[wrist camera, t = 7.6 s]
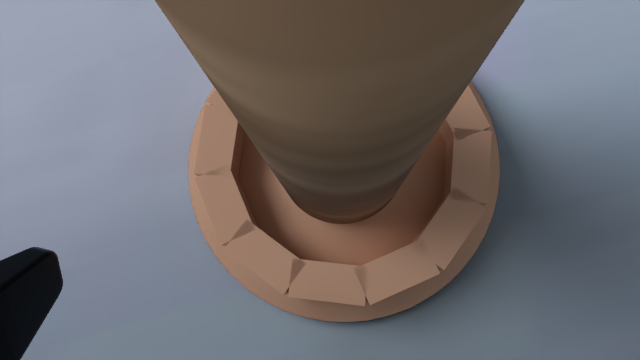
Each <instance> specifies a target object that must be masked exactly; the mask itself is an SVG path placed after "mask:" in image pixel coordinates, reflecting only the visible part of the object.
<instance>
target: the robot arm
mask: <svg viewBox="0 0 640 360" xmlns="http://www.w3.org/2000/svg"><path fill="white" fill-rule="evenodd" d="M62 286H63V279H62V274H61V270H60V265H59V261H58V257H57V255H56V253H55V252H53V251H51V250H47V249H43V248H39V247H32V248H29V249H26V250H24V251H21V252H19V253H17V254H15V255H12V256H10V257H8V258H5V259H3V260H1V261H0V360H20V359H21V358H22V356H23V354H24V353H25V351H26V349H27V348H28V346H29V344H30V343H31V341H32V339H33V338H34V336H35V334H36V333H37V331H38V329H39V328H40V326H41V324H42V323H43V321H44V319H45V318H46V316H47V314H48V313H49V311H50V309H51V308H52V306H53V304H54V303H55V301H56V299H57V298H58V296H59V294H60V292H61V290H62Z"/></svg>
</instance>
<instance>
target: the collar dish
mask: <svg viewBox="0 0 640 360" xmlns="http://www.w3.org/2000/svg"><path fill="white" fill-rule="evenodd" d="M499 181H500V156H499V150H498V144H497V137H496V134H495V130H494V127H493V124H492V121H491V117H490V115H489V113H488V111H487V109H486V106H485V104H484V102H483V100H482V98H481V96H480V95H479V93H478V92H477V90H476V89H475V87H474V85H473V84H472V82H471V81H470V83H469V84H468V86H467V87H466V89H465V90H464V92H463V93H462V95H461V96H460V98H459V99H458V101H457V102H456V104H455V105H454V107H453V108H452V110H451V111H450V113H449V114H448V116H447V117H446V119H445V120H444V122H443V123H442V125H441V126H440V128H439V129H438V131H437V132H436V134H435V135H434V137H433V138H432V140H431V141H430V143H429V144H428V146H427V147H426V149H425V150H424V152H423V153H422V155H421V156H420V158H419V159H418V161H417V162H416V164H415V165H414V167H413V168H412V170H411V171H410V173H409V174H408V176H407V177H406V179H405V180H404V182H403V183H402V185H401V186H400V188H399V189H398V191H397V192H396V194H395V195H394V197H393V198H392V200H391V201H390V202H389V203H388V204H387V205H386V206H385V207H384V208H383V209H382V210H381V211H379V212H378V213H377V214H375V215H373V216H371V217H370V218H368V219H365V220H362V221H359V222H355V223H350V224H333V223H328V222H324V221H321V220H318V219H316V218H314V217H312V216H310V215H308V214H307V213H305V212H304V211H302V210H301V209H300V208H299V207H298V206H297V205H296V204H295V203H294V202H293V201H292V199H291V198H290V196H289V195H288V194H287V192H286V191H285V189H284V188H283V186H282V185H281V183H280V182H279V180H278V179H277V177H276V176H275V175H274V173H273V172H272V170H271V169H270V167H269V166H268V164H267V163H266V161H265V160H264V159H263V157H262V156H261V154H260V153H259V151H258V150H257V148H256V147H255V145H254V144H253V143H252V141H251V140H250V138H249V137H248V135H247V134H246V132H245V131H244V129H243V128H242V126H241V125H240V124H239V122H238V121H237V119H236V118H235V116H234V115H233V113H232V112H231V110H230V109H229V108H228V106H227V105H226V103H225V102H224V100H223V99H222V97H221V96H220V94H219V93H218V92H217V90H216V89H215V87H214V88H213V89H212V91H211V92H210V94H209V96H208V98H207V100H206V102H205V104H204V106H203V107H202V109H201V112H200V115H199V117H198V120H197V123H196V125H195V129H194V133H193V137H192V141H191V146H190V155H189V187H190V193H191V199H192V205H193V208H194V211H195V215H196V218H197V221H198V224H199V226H200V228H201V231H202V233H203V235H204V237H205V239H206V241H207V243H208V245H209V246H210V248H211V249H212V251H213V252H214V254H215V256H216V257H217V259H218V260H219V261H220V262H221V263H222V265H223V266H224V267H225V268H226V269H227V271H228V272H229V273H230V274H231V275H232V276H233V277H234V278H235V279H236V280H237V281H239V282H240V283H241V284H242V285H243V286H244V287H245V288H246V289H248V290H249V291H251V292H252V293H254V294H255V295H257V296H258V297H260V298H261V299H263V300H264V301H266V302H268V303H270V304H272V305H274V306H276V307H278V308H280V309H282V310H284V311H287V312H290V313H293V314H296V315H299V316H302V317H307V318H312V319H317V320H322V321H334V322H354V321H366V320H372V319H376V318H381V317H385V316H390V315H392V314H395V313H398V312H400V311H403V310H406V309H409V308H411V307H413V306H414V305H416V304H418V303H420V302H422V301H424V300H426V299H428V298H429V297H431V296H432V295H433V294H435V293H436V292H437V291H439V290H440V289H442V288H443V287H444V286H446V285H447V284H448V283H449V282H450V281H451V280H452V279H453V278H454V277H455V276H456V275H457V274H458V273H459V272H460V271H461V270H462V269H463V268H464V266H465V265H466V264H467V263H468V261H469V260H470V259H471V257H472V256H473V255H474V254H475V252H476V250H477V248H478V247H479V245H480V243H481V242H482V240H483V238H484V236H485V234H486V232H487V229H488V227H489V224H490V222H491V220H492V217H493V213H494V210H495V206H496V202H497V198H498V190H499Z"/></svg>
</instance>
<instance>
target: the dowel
mask: <svg viewBox="0 0 640 360" xmlns="http://www.w3.org/2000/svg"><path fill="white" fill-rule="evenodd" d="M155 1H156V3H157V4H158V6H159V7H160V8H161V10H162V11H163V13H164V14H165V16H166V17H167V19H168V20H169V22H170V23H171V24H172V26H173V27H174V29H175V30H176V32H177V33H178V35H179V36H180V38H181V39H182V41H183V42H184V43H185V45H186V46H187V48H188V49H189V51H190V52H191V54H192V55H193V57H194V58H195V59H196V61H197V62H198V64H199V65H200V67H201V68H202V70H203V71H204V73H205V74H206V75H207V77H208V78H209V80H210V81H211V83H212V84H213V86H214V87H215V89H216V90H217V92H218V93H219V94H220V96H221V97H222V99H223V100H224V102H225V103H226V105H227V106H228V108H229V109H230V110H231V112H232V113H233V115H234V116H235V118H236V119H237V121H238V122H239V124H240V125H241V126H242V128H243V129H244V131H245V132H246V134H247V135H248V137H249V138H250V140H251V141H252V143H253V144H254V145H255V147H256V148H257V150H258V151H259V153H260V154H261V156H262V157H263V159H264V160H265V161H266V163H267V164H268V166H269V167H270V169H271V170H272V172H273V173H274V175H275V176H276V177H277V179H278V180H279V182H280V183H281V185H282V186H283V188H284V189H285V191H286V192H287V194H288V195H289V196H290V198H291V199H292V201H293V202H294V203H295V204H296V205H297V206H298V207H299V208H300V209H301V210H302V211H304V212H305V213H307V214H308V215H310V216H312V217H314V218H316V219H318V220H321V221H324V222H328V223H333V224H350V223H355V222H359V221H362V220H365V219H368V218H370V217H371V216H373V215H375V214H377V213H378V212H379V211H381V210H382V209H383V208H384V207H385V206H386V205H387V204H388V203H389V202H390V201H391V200H392V198H393V197H394V195H395V194H396V192H397V191H398V189H399V188H400V186H401V185H402V183H403V182H404V180H405V179H406V177H407V176H408V174H409V173H410V171H411V170H412V168H413V167H414V165H415V164H416V162H417V161H418V159H419V158H420V156H421V155H422V153H423V152H424V150H425V149H426V147H427V146H428V144H429V143H430V141H431V140H432V138H433V137H434V135H435V134H436V132H437V131H438V129H439V128H440V126H441V125H442V123H443V122H444V120H445V119H446V117H447V116H448V114H449V113H450V111H451V110H452V108H453V107H454V105H455V104H456V102H457V101H458V99H459V98H460V96H461V95H462V93H463V92H464V90H465V89H466V87H467V86H468V84H469V83H470V81H471V80H472V78H473V77H474V75H475V74H476V72H477V71H478V69H479V68H480V66H481V65H482V63H483V62H484V60H485V59H486V57H487V56H488V54H489V53H490V51H491V50H492V48H493V47H494V45H495V44H496V42H497V41H498V39H499V38H500V36H501V35H502V33H503V32H504V30H505V29H506V27H507V26H508V24H509V23H510V21H511V20H512V18H513V17H514V15H515V14H516V12H517V11H518V9H519V8H520V6H521V5H522V3H523V2H524V0H155Z"/></svg>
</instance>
